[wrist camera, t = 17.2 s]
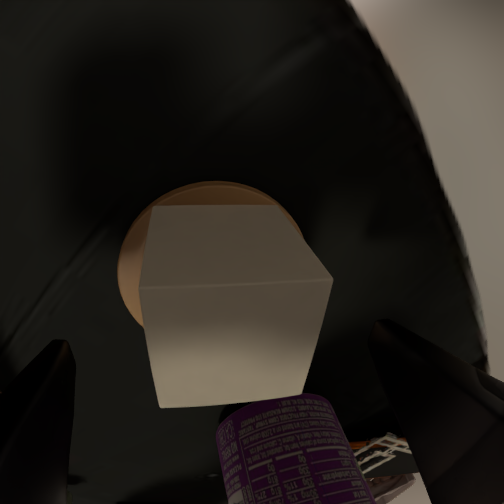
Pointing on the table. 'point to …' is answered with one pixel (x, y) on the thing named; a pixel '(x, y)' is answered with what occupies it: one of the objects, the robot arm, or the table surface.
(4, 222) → the table surface
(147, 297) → the block
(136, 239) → the coaster
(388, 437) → the model
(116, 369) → the table surface
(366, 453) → the smartphone
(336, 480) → the beverage can
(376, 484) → the dental mold
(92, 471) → the table surface
